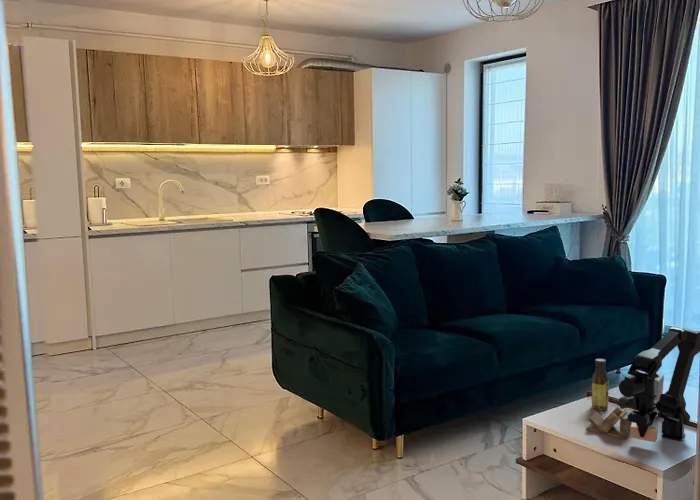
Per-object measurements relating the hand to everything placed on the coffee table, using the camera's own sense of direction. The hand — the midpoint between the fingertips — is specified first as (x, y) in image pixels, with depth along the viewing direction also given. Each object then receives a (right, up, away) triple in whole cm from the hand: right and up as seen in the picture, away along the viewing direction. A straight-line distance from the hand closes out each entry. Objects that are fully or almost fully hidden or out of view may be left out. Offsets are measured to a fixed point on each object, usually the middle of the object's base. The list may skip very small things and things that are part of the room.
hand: (643, 434), depth 220 cm
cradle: (-6, -3, +14) cm, 16 cm away
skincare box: (+16, -1, +29) cm, 33 cm away
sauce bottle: (-1, 0, +37) cm, 37 cm away
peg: (0, -1, 0) cm, 1 cm away
